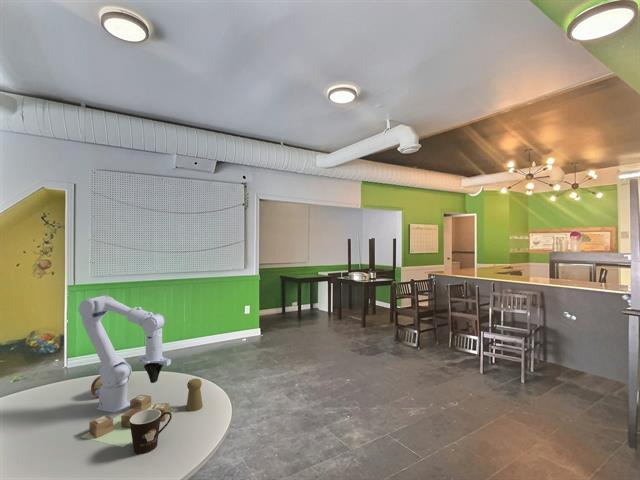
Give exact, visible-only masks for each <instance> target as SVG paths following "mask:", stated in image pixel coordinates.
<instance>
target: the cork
mask: <svg viewBox="0 0 640 480" xmlns="http://www.w3.org/2000/svg"><path fill="white" fill-rule="evenodd" d="M202 384H203V383H202V380H201V379H200V378H192V379H190V380H189V381H187V385H186V387H187V389H188V394H187V401H186V408H185V409H186V411H187V412H192V413H193V412H198V411H199V410H201V409H203V405H204V404H203V400H202V392H201V387H202Z"/></svg>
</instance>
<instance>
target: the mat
mask: <svg viewBox="0 0 640 480" xmlns="http://www.w3.org/2000/svg"><path fill="white" fill-rule="evenodd" d="M154 405H155V404H152V403H151V407H149V408H148V409H147V410H149V409H152V408H153V406H154ZM129 410H130V408H129V409H127V410H126V411H123V412H122V413H120V414H119V415H117V416H115V417H113V418H112V419H113V431H112V432H110V433H107V434H105V435H103V436H101V437H99V438H95V437H94V436H92V435H91V434H89V432H87V433H85V434H83V435H81V436H80V438H83V439H87V440H91V441H96V442H100V443H104V444H108V445H112V446H116V447H119V448H120V447H121V448H125V446H127V445H128V444H130V443H132V434H131V428H121V416H122V415H123V414H125V413H126V412H127V411H129ZM178 410H179V409H178V408H173V407H169V412H170V413H171V415H172V414H174V413H176V412H177V411H178ZM168 417H170V415H168ZM161 422H162V421H160V423H161Z"/></svg>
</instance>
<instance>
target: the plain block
mask: <svg viewBox="0 0 640 480" xmlns="http://www.w3.org/2000/svg"><path fill="white" fill-rule="evenodd" d="M129 409H130V408H129ZM129 409H128V410H129ZM126 411H127V410H126ZM141 411H144V409H130V410H129V411H127V412H126V413H125V414H123V415H122V416H121V428H131V427H130V418H131V417H132V416H133V415H134V414H136V413H138V412H141Z"/></svg>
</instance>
